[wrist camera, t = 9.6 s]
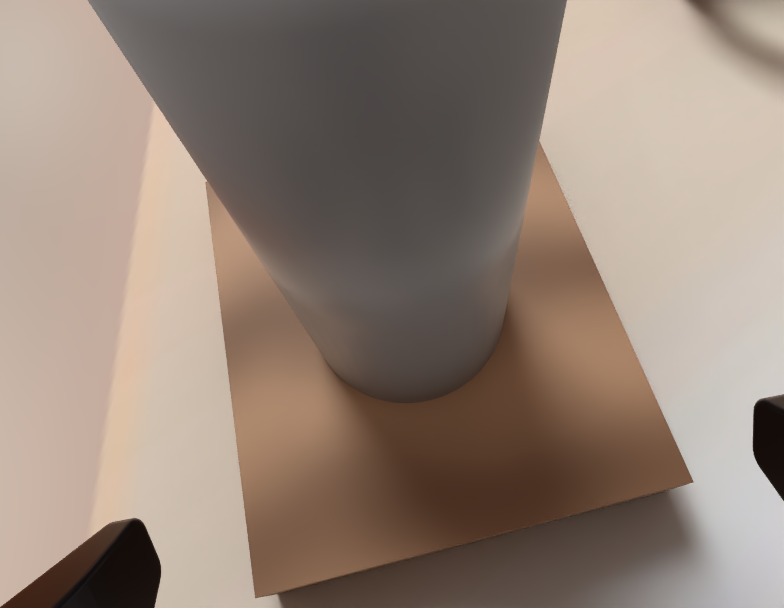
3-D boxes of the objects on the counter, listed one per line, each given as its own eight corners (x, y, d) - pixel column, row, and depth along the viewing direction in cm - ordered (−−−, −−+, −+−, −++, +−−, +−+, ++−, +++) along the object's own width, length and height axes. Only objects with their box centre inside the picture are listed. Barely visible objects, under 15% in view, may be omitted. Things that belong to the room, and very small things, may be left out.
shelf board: (668, 490, 17) (693, 482, 15) (276, 593, 17) (255, 598, 15) (515, 135, 23) (520, 99, 21) (225, 212, 23) (205, 182, 21)
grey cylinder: (545, 316, 17) (730, -194, 6) (394, 445, 16) (231, 147, 4) (418, 197, 20) (359, -345, 8) (277, 303, 19) (-35, -144, 7)
